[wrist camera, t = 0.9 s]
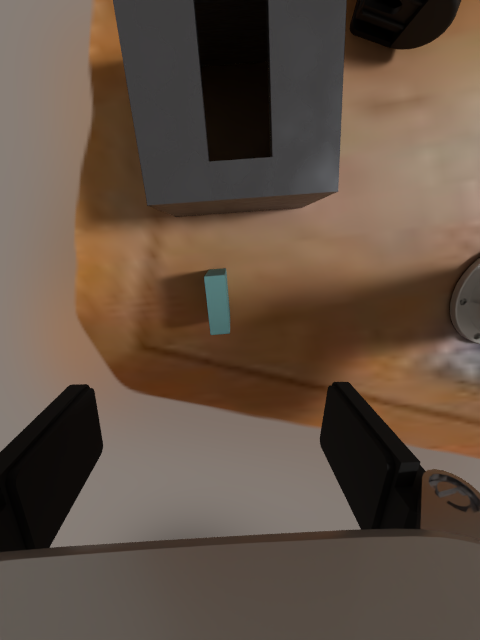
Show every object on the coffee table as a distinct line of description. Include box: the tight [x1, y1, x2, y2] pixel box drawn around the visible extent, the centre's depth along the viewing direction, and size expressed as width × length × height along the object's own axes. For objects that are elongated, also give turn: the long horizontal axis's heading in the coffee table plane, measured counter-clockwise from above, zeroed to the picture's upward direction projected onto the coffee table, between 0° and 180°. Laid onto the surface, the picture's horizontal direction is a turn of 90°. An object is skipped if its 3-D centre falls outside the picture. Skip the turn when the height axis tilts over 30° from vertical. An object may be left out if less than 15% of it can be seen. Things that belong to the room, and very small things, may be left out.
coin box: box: [113, 0, 346, 217], centre depth 21 cm, size 14×14×10 cm
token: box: [204, 268, 230, 335], centre depth 28 cm, size 2×6×6 cm, turn 4°
